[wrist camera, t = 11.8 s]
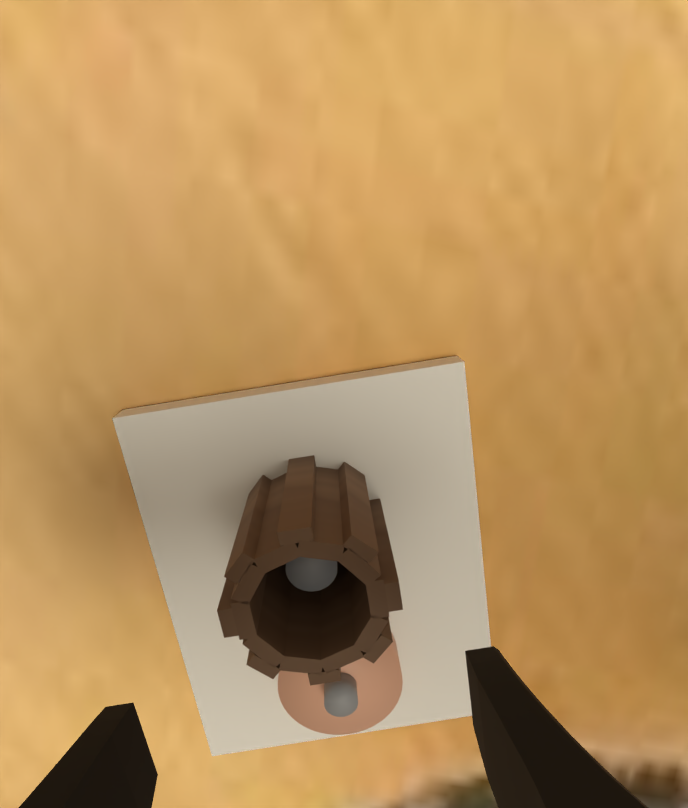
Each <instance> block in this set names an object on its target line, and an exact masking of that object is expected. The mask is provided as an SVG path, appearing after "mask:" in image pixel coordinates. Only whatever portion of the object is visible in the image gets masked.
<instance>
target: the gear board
mask: <svg viewBox="0 0 688 808" xmlns="http://www.w3.org/2000/svg"><path fill="white" fill-rule="evenodd" d="M112 419H113V423H114V426H115V429H116V433H117V436H118V440H119V443H120V446H121V450H122V453H123V456H124V460H125V463H126V467H127V470H128V473H129V477H130V480H131V484H132V487H133V490H134V494H135V497H136V500H137V504H138V507H139V511H140V514H141V517H142V521H143V524H144V527H145V531H146V534H147V538H148V541H149V544H150V548H151V551H152V555H153V558H154V561H155V565H156V568H157V571H158V575H159V578H160V582H161V585H162V588H163V592H164V595H165V598H166V602H167V605H168V609H169V612H170V615H171V619H172V622H173V626H174V629H175V632H176V636H177V639H178V642H179V646H180V649H181V653H182V656H183V659H184V663H185V666H186V669H187V673H188V676H189V680H190V683H191V686H192V690H193V693H194V697H195V700H196V703H197V707H198V710H199V713H200V717H201V720H202V724H203V727H204V730H205V734H206V737H207V741H208V744H209V747H210V751H211V754H212V756H217V755H223V754H229V753H236V752H242V751H249V750H255V749H262V748H268V747H274V746H281V745H287V744H294V743H300V742H306V741H313V740H319V739H326V738H332V737H338V736H345V735H351V734H358V733H364V732H371V731H377V730H383V729H390V728H396V727H403V726H409V725H415V724H422V723H428V722H435V721H441V720H447V719H454V718H460V717H467V716H472V709H471V700H470V691H469V682H468V673H467V664H466V655H465V651H467V650H473V649H480V648H486V647H491V641H490V630H489V619H488V609H487V598H486V587H485V577H484V566H483V555H482V545H481V534H480V523H479V513H478V502H477V491H476V481H475V470H474V459H473V449H472V438H471V427H470V417H469V406H468V395H467V385H466V374H465V363H464V361H463V360H462V359H461V358H459V357H458V356H452V357H446V358H440V359H434V360H427V361H421V362H415V363H409V364H403V365H396V366H390V367H384V368H378V369H372V370H365V371H359V372H353V373H347V374H341V375H334V376H328V377H322V378H316V379H310V380H304V381H297V382H291V383H285V384H279V385H273V386H266V387H260V388H254V389H248V390H242V391H235V392H229V393H223V394H217V395H211V396H204V397H198V398H192V399H186V400H180V401H173V402H167V403H161V404H155V405H149V406H142V407H136V408H130V409H124V410H122V411H121V412H119V413H118V414H117V415H116V416H114V417H113V418H112ZM312 455H314V457H315V462H316V467H323V468H331V469H339V468H340V466H341V465H342V464H343V462H346V463H347V464H349V465H350V466H352V467H353V468H355V469H356V470H358V471H359V472H361V473H362V474H364V475H365V479H366V485H367V490H368V496H369V500H374V499H380V500H381V505H382V509H383V513H384V518H385V522H386V527H387V531H388V535H389V540H390V544H391V549H392V553H393V558H394V562H395V566H396V571H397V575H398V580H399V585H400V592H401V599H402V606H403V610H398V611H392V612H389V623H390V628H391V634H392V639H393V642H392V643H391V645H390V646H389V647H388V648H387V649H386V650H385V651H384V652H383V654H382V655H381V656H380V657H379V658H378V659H377V660H376V662H375V663H374V664H373V663H372V662H370V661H368V660H367V659H365V658H361V659H359V660H357V661H354V662H352V663H350V664H348V665H345V666H343V667H341V681H336V682H330V683H324V684H317V685H311V686H310V682H309V678H308V673H300V672H290V671H280V672H279V673H278V674H277V675H276V676H275V678H274V679H271V678H270V677H268V676H266V675H264V674H262V673H260V672H259V671H257V670H255V669H253V668H251V667H249V666H248V665H246V664H247V659H248V653H249V649H248V648H247V647H245V646H244V645H243V640H239V636H233V637H227V638H224V636H223V632H222V628H221V624H220V621H219V617H218V613H217V608H218V605H219V602H220V598H221V595H222V591H223V588H224V584H225V581H226V578H225V577H224V575H225V571H226V568H227V565H228V561H229V558H230V555H231V551H232V548H233V545H234V541H235V538H236V535H237V531H238V528H239V525H240V521H241V518H242V515H243V511H244V508H245V504H246V501H247V498H248V494H249V493H250V491H251V490H252V489H253V487H254V486H255V484H256V483H257V482H258V480H259V479H260V478H261V476H262V475H264V476H266V477H268V478H269V479H271V480H273V479H275V478H277V477H279V476H281V475H283V474H285V473H287V467H288V461H289V459H293V458H299V457H306V456H312ZM286 575H287V577H288V579H289V581H290V582H291V583H292V584H293V585H294V586H295V587H297V588H299V589H301V590H304V591H319V590H322V589H324V588H326V587H328V586H329V585H330V584H331V583H332V582H333V581H334V579H335V577H336V575H337V561H330V560H321V559H313V558H305V557H298V558H296V559H294V560H292V561H290V562H288V563H286Z"/></svg>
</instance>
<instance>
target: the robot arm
mask: <svg viewBox="0 0 688 808" xmlns="http://www.w3.org/2000/svg"><path fill="white" fill-rule="evenodd" d="M465 655H466V664H467V673H468V682H469V691H470V700H471V709H472V718H473V726H474V730H475V734H476V737H477V741H478V745H479V748H480V752H481V756H482V759H483V763H484V767H485V770H486V774H487V777H488V780H489V783H490V786H491V789H492V791H493V794H494V797H495V799H496V802H497V805H498V807H499V808H648V807H647V806H645V805H644V804H643V803H642V802H641V801H640V800H639V799H637V798H636V797H635V796H634V795H633V794H632V793H631V792H629V791H628V790H627V789H626V788H625V787H624V786H623V785H622V784H621V783H619V782H618V781H617V780H616V779H615V778H614V777H613V776H612V775H611V774H610V773H609V772H608V771H607V770H605V769H604V768H603V767H602V766H601V765H600V764H599V763H598V762H597V761H596V760H595V759H594V758H593V757H592V756H591V755H590V754H589V753H588V752H587V751H586V750H585V749H584V748H583V747H582V746H581V745H580V744H579V743H578V742H577V741H576V740H575V739H574V738H573V737H572V736H571V735H570V734H569V733H568V732H567V731H566V730H565V728H564V727H563V726H562V725H561V724H560V723H559V722H558V721H557V720H556V719H555V718H554V717H553V715H552V714H551V713H550V712H549V711H548V710H547V709H546V708H545V707H544V706H543V705H542V703H541V702H540V701H539V700H538V699H537V698H536V697H535V695H534V694H533V693H532V692H531V691H530V689H529V688H528V687H527V686H526V685H525V684H524V682H523V681H522V680H521V679H520V677H519V676H518V675H517V674H516V672H515V671H514V670H513V669H512V667H511V666H510V665H509V663H508V662H507V661H506V659H505V658H504V657H503V655H502V654H501V653H500V651H499V650H498V649H496V648H495V647H494V646H493V647H486V648H480V649H473V650H467V651H465ZM157 775H158V774H157V771H156V768H155V765H154V762H153V760H152V757H151V754H150V751H149V748H148V745H147V742H146V739H145V736H144V733H143V730H142V727H141V724H140V721H139V718H138V715H137V712H136V709H135V706H134V703H128V704H122V705H115V706H109V707H105V708H104V709H103V710H102V712H101V713H100V714H99V715H98V716H97V717H96V718H95V719H94V721H93V722H92V723H91V724H90V725H89V726H88V728H87V729H86V730H85V731H84V732H83V733H82V735H81V736H80V737H79V738H78V739H77V741H76V742H75V743H74V744H73V745H72V747H71V748H70V749H69V750H68V751H67V752H66V754H65V755H64V756H63V757H62V758H61V760H60V761H59V762H58V763H57V764H56V765H55V767H54V768H53V769H52V770H51V771H50V772H49V773H48V775H47V776H46V777H45V778H44V779H43V780H42V782H41V783H40V784H39V785H38V786H37V787H36V788H35V790H34V791H33V792H32V793H31V794H30V795H29V797H28V798H27V799H26V800H25V801H24V802H23V803H22V805H21V806H20V807H19V808H151V807H152V802H153V796H154V791H155V786H156V780H157Z"/></svg>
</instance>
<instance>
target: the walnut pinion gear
mask: <svg viewBox="0 0 688 808" xmlns="http://www.w3.org/2000/svg"><path fill="white" fill-rule="evenodd" d="M298 557H305V558H313V559H321V560H330V561H337V575H336V577H335V579H334V581H333V582H332V583H331V584H330V585H329V586H328V587H326V588H324V589H322V590H319V591H304V590H301V589H299V588H297V587H295V586H294V585H293V584H292V583H291V582H290V581H289V579H288V577H287V575H286V563H288V562H290V561H292V560H294V559H296V558H298ZM224 577H225V578H226V581H225V584H224V588H223V591H222V595H221V598H220V602H219V605H218V608H217V613H218V617H219V621H220V624H221V628H222V632H223V636H224V638H227V637H233V636H239V640H243V645H244V646H245V647H247V648H248V649H249V653H248V659H247V664H246V665H248V666H249V667H251V668H253V669H255V670H257V671H259V672H260V673H262V674H264V675H266V676H268V677H270V678H271V679H274V678H275V676H276V675H277V674H278V673H279V672H280V671H290V672H300V673H308V678H309V682H310V686H311V685H317V684H324V683H330V682H336V681H341V667H343V666H345V665H348V664H350V663H352V662H354V661H357V660H359V659H361V658H365V659H367V660H368V661H370V662H372V663H373V664H374V663H375V662H376V660H377V659H378V658H379V657H380V656H381V655H382V654H383V652H384V651H385V650H386V649H387V648H388V647H389V646H390V645H391V643H392V642H393V639H392V634H391V628H390V623H389V612H392V611H398V610H403V606H402V599H401V592H400V585H399V580H398V575H397V571H396V566H395V562H394V558H393V553H392V549H391V544H390V540H389V535H388V531H387V527H386V522H385V518H384V513H383V509H382V505H381V500H380V499H374V500H369V496H368V490H367V485H366V479H365V475H364V474H362V473H361V472H359V471H358V470H356V469H355V468H353V467H352V466H350V465H349V464H347V463H346V462H343V464H342V465H341V466H340V468H339V469H331V468H323V467H316V462H315V457H314V455H312V456H306V457H299V458H293V459H289V461H288V467H287V473H285V474H283V475H281V476H279V477H277V478H275V479H273V480H271V479H269V478H268V477H266V476H264V475H262V476H261V478H260V479H259V480H258V482H257V483H256V484H255V486H254V487H253V489H252V490H251V491H250V493H249V494H248V498H247V501H246V504H245V508H244V511H243V515H242V518H241V521H240V525H239V528H238V531H237V535H236V538H235V541H234V545H233V548H232V551H231V555H230V558H229V561H228V565H227V568H226V571H225V575H224Z"/></svg>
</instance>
